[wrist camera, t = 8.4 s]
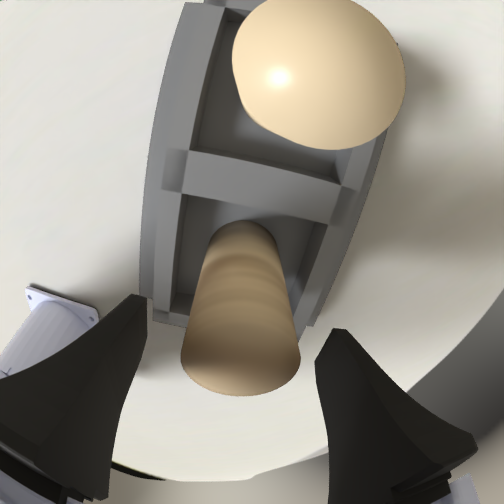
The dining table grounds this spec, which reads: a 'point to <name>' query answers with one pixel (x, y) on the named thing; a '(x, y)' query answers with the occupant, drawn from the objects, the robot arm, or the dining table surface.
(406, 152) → the dining table surface
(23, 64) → the dining table surface
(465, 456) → the robot arm
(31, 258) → the dining table surface
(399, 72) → the rack
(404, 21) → the dining table surface
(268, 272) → the oak peg
